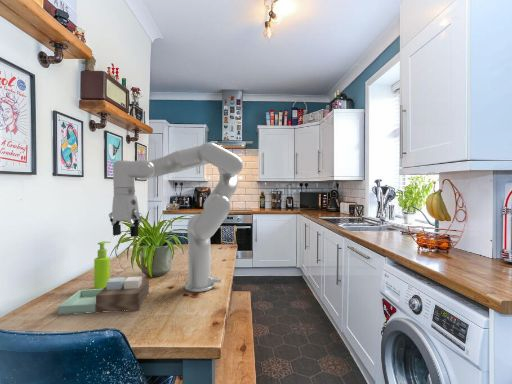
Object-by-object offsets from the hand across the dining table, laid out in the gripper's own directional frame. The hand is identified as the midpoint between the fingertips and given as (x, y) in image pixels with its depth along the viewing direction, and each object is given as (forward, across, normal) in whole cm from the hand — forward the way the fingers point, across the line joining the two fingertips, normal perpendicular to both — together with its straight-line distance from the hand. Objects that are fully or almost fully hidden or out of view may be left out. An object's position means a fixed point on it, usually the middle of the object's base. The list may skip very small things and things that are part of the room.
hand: (125, 235), depth 112 cm
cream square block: (+18, -6, +3) cm, 20 cm away
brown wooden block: (+24, -4, +4) cm, 25 cm away
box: (+24, +7, +12) cm, 28 cm away
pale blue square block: (+18, -1, +6) cm, 19 cm away
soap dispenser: (+24, +18, -3) cm, 30 cm away
